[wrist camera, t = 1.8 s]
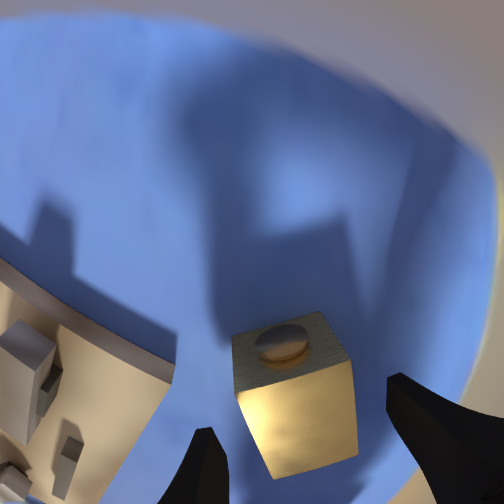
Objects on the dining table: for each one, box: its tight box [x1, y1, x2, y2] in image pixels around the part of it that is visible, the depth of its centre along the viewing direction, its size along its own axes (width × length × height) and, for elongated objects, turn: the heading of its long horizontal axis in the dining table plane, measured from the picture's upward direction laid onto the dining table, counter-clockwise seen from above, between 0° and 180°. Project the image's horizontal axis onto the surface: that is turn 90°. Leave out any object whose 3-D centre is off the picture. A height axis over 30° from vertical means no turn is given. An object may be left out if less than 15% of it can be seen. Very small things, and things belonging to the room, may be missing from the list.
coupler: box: [231, 311, 359, 480], centre depth 12 cm, size 4×7×4 cm, turn 15°
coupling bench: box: [0, 257, 175, 504], centre depth 12 cm, size 12×22×4 cm, turn 149°
